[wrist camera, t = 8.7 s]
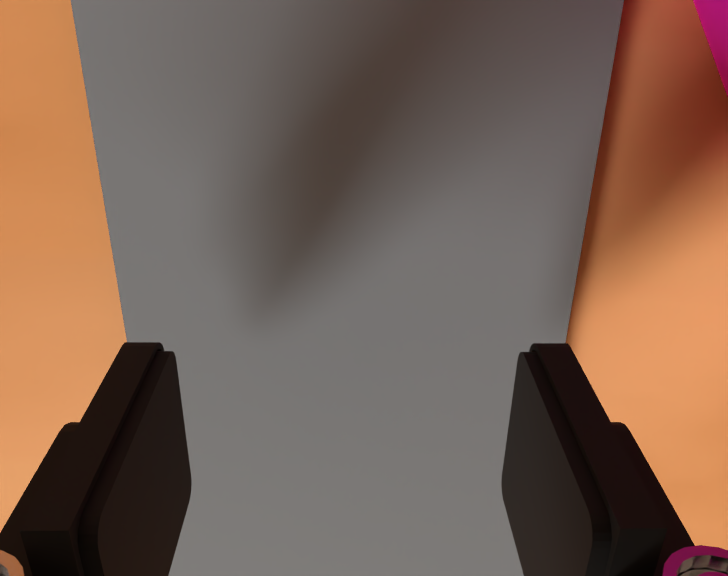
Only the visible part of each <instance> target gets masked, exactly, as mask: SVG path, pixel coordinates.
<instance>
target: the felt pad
mask: <svg viewBox="0 0 728 576" xmlns="http://www.w3.org/2000/svg"><path fill="white" fill-rule="evenodd" d="M623 3H624V0H71V4H72V11H73V17H74V23H75V29H76V35H77V41H78V47H79V53H80V59H81V65H82V71H83V77H84V83H85V89H86V95H87V101H88V108H89V114H90V120H91V126H92V132H93V138H94V144H95V150H96V156H97V162H98V168H99V174H100V180H101V186H102V192H103V198H104V205H105V211H106V217H107V223H108V229H109V235H110V241H111V247H112V253H113V259H114V265H115V271H116V277H117V283H118V289H119V295H120V302H121V308H122V314H123V320H124V326H125V332H126V338H127V342H160V343H161V344H162V345H163V348H164V351H173V352H174V353H175V356H176V362H177V370H178V378H179V385H180V393H181V401H182V408H183V416H184V424H185V432H186V439H187V447H188V455H189V463H190V470H191V480H192V486H191V496H190V501H189V505H188V508H187V512H186V515H185V519H184V522H183V526H182V529H181V533H180V537H179V540H178V544H177V547H176V551H175V554H174V558H173V561H172V565H171V568H170V572H169V575H168V576H524V575H523V571H522V567H521V564H520V560H519V556H518V553H517V549H516V545H515V542H514V538H513V534H512V531H511V527H510V523H509V519H508V516H507V512H506V508H505V505H504V501H503V496H502V487H501V479H502V470H503V463H504V456H505V448H506V441H507V434H508V426H509V419H510V411H511V404H512V397H513V389H514V382H515V375H516V367H517V360H518V356H519V353H520V352H529V350H530V347H531V345H532V344H533V343H565V342H566V336H567V330H568V325H569V319H570V313H571V307H572V301H573V295H574V290H575V284H576V278H577V272H578V266H579V260H580V254H581V249H582V243H583V237H584V231H585V225H586V219H587V214H588V208H589V202H590V196H591V190H592V184H593V178H594V173H595V167H596V161H597V155H598V149H599V143H600V137H601V132H602V126H603V120H604V114H605V108H606V102H607V97H608V91H609V85H610V79H611V73H612V67H613V61H614V56H615V50H616V44H617V38H618V32H619V26H620V21H621V15H622V9H623Z"/></svg>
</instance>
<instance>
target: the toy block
mask: <svg viewBox="0 0 728 576" xmlns="http://www.w3.org/2000/svg"><path fill="white" fill-rule="evenodd" d="M693 1H694V4H695V7H696V10H697V13H698V15H699V18H700V21H701V24H702V27H703V30H704V32H705V35H706V38H707V41H708V44H709V46H710V49H711V52H712V55H713V58H714V60H715V63H716V66H717V69H718V72H719V74H720V77H721V80H722V83H723V86H724V88H725V91H726V94H727V97H728V0H693Z"/></svg>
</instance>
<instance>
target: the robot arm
mask: <svg viewBox="0 0 728 576" xmlns="http://www.w3.org/2000/svg"><path fill="white" fill-rule="evenodd" d="M191 486H192V480H191V470H190V463H189V455H188V447H187V439H186V432H185V424H184V416H183V408H182V401H181V393H180V385H179V378H178V370H177V362H176V356H175V353H174V352H173V351H164V348H163V345H162V344H161V343H160V342H126V343H124V344H123V345H122V347H121V349H120V350H119V352H118V354H117V356H116V358H115V359H114V361H113V363H112V365H111V367H110V369H109V370H108V372H107V374H106V376H105V378H104V379H103V381H102V383H101V385H100V387H99V388H98V390H97V392H96V394H95V396H94V397H93V399H92V401H91V403H90V405H89V406H88V408H87V410H86V412H85V414H84V415H83V417H82V419H81V421H80V422H70V423H68V424H66V425H64V427H63V428H62V429H61V430H60V432H59V433H58V435H57V437H56V438H55V440H54V442H53V444H52V445H51V447H50V449H49V450H48V452H47V454H46V456H45V457H44V459H43V461H42V462H41V464H40V466H39V468H38V469H37V471H36V473H35V474H34V476H33V478H32V480H31V481H30V483H29V485H28V486H27V488H26V490H25V492H24V493H23V495H22V497H21V498H20V500H19V502H18V504H17V505H16V507H15V509H14V510H13V512H12V514H11V516H10V517H9V519H8V521H7V522H6V524H5V526H4V528H3V529H2V531H1V533H0V576H168V575H169V572H170V568H171V565H172V561H173V558H174V554H175V551H176V547H177V544H178V540H179V537H180V533H181V529H182V526H183V522H184V519H185V515H186V512H187V508H188V505H189V501H190V496H191ZM501 487H502V496H503V501H504V505H505V508H506V512H507V516H508V519H509V523H510V527H511V531H512V534H513V538H514V542H515V545H516V549H517V553H518V556H519V560H520V564H521V567H522V571H523V575H524V576H728V551H727V550H724V549H721V548H718V547H710V546H702V545H699V546H695V545H694V544H693V542H692V540H691V538H690V536H689V535H688V533H687V531H686V529H685V528H684V526H683V524H682V522H681V521H680V519H679V517H678V515H677V513H676V512H675V510H674V508H673V506H672V505H671V503H670V501H669V499H668V498H667V496H666V494H665V492H664V490H663V489H662V487H661V485H660V483H659V482H658V480H657V478H656V476H655V475H654V473H653V471H652V469H651V467H650V466H649V464H648V462H647V460H646V459H645V457H644V455H643V453H642V451H641V450H640V448H639V446H638V444H637V443H636V441H635V439H634V437H633V436H632V434H631V432H630V431H629V429H628V428H627V427H626V425H625V424H623V423H621V422H610V420H609V418H608V416H607V414H606V413H605V411H604V409H603V407H602V405H601V403H600V401H599V399H598V398H597V396H596V394H595V392H594V390H593V388H592V386H591V385H590V383H589V381H588V379H587V377H586V375H585V373H584V371H583V370H582V368H581V366H580V364H579V362H578V360H577V358H576V357H575V355H574V353H573V351H572V349H571V347H570V346H569V345H568V344H566V343H533V344H532V345H531V347H530V350H529V352H520V353H519V356H518V360H517V367H516V375H515V382H514V389H513V397H512V404H511V411H510V419H509V426H508V434H507V441H506V448H505V456H504V463H503V470H502V479H501Z"/></svg>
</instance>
